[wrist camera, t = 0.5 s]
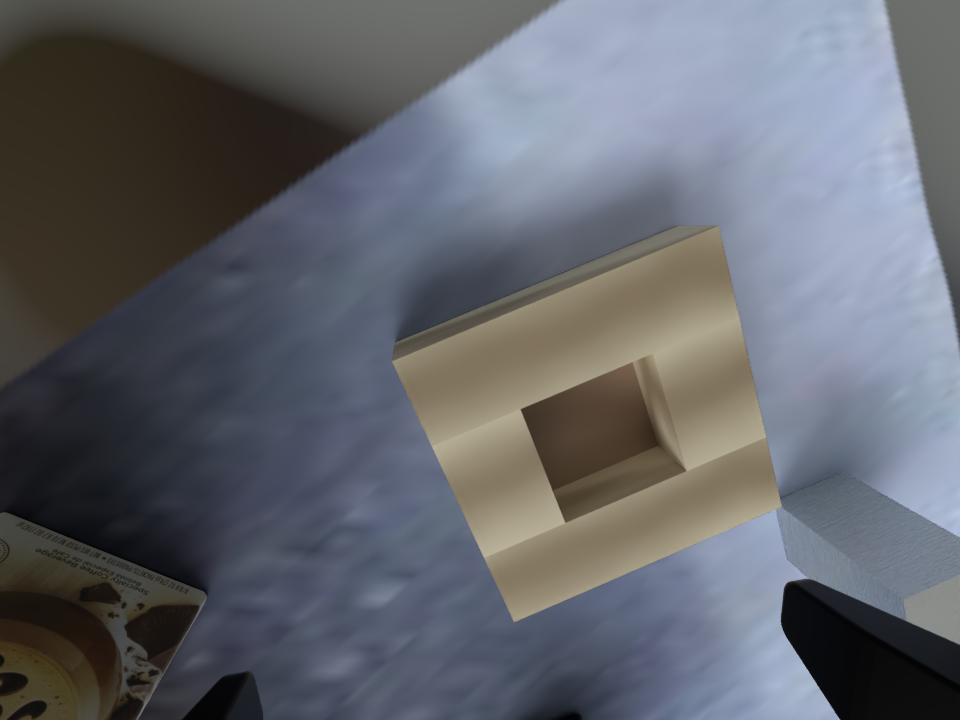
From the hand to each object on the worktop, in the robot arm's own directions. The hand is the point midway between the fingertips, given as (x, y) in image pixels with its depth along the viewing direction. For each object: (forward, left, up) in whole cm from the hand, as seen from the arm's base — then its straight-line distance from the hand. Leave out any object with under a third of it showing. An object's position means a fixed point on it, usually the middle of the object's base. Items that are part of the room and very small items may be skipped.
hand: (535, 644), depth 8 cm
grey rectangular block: (-15, -15, -14) cm, 25 cm away
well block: (-4, -5, -14) cm, 15 cm away
